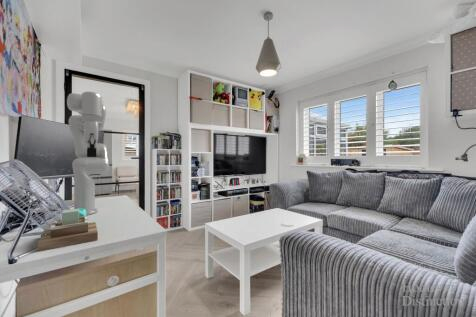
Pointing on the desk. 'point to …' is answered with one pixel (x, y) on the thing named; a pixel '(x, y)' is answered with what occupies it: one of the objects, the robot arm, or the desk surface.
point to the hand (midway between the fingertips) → (91, 157)
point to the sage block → (70, 216)
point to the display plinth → (67, 239)
